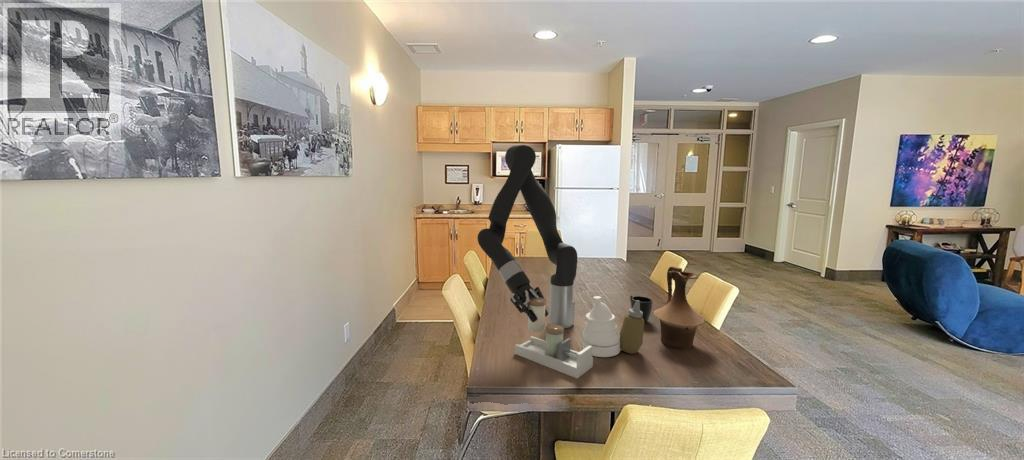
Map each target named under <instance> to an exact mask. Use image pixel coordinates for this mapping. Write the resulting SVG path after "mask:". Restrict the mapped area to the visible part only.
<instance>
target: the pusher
mask: <svg viewBox="0 0 1024 460" xmlns="http://www.w3.org/2000/svg"><path fill="white" fill-rule="evenodd" d="M571 342H572V341H571V338H569V337H568V338H566V339H565V340H563V342H561V343H560V344H558V345H557V354H556V359H559V360H561V361H564V360H565V359H567V358H568V357H569V356H570V357H573V358H575V357H576V355H575V354H572V353H570V349H571Z"/></svg>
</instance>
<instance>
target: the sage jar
mask: <svg viewBox="0 0 1024 460" xmlns="http://www.w3.org/2000/svg"><path fill="white" fill-rule="evenodd" d="M564 331H565V328H564V327H562V326H560V325H556V324H551V325H550V324H547V325H545V341H546V346H545V355H548V356H551V357H553V358H556V354H557V345H558V344H560V343H561V342H563V341H564Z"/></svg>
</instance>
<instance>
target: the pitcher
mask: <svg viewBox="0 0 1024 460" xmlns="http://www.w3.org/2000/svg"><path fill="white" fill-rule="evenodd" d="M697 278H698V277H697V275H696V273H693V272H689V271H683V268H682V267H678V266H674V265H673V266H669V267H668V268H667V272H666V282H667V301H666V303H665V304H664V306H662V307H660V308H657V309H655V310H654V311H653V314H654V316H655V317H656V318H658V319H659V322H660V341H661V343H662V344H663V345H664V346H665V345H666V346H667V347H669V348H671V349H672V348H673V349H675V348H677V350H689V349H691V347H692V348H693V346H694V345H693V344H694V339H695V336H696V332H697V328H698V327H699V326H702V325H704V324H705V323H706V322H705V321H706V320H705V318H704V316H702V315H701V314H700V313H699V312H697V311H696V310H695V309H694V308H693V307H692V306H691V305H690V304H689V302H688V300H687V296H686V288H687V287H686V286H687V282H688V281H689V280H695V279H697ZM672 281H674V292H673V286H672V285H673V283H672ZM688 348H689V349H688Z"/></svg>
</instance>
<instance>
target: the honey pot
mask: <svg viewBox="0 0 1024 460" xmlns="http://www.w3.org/2000/svg"><path fill="white" fill-rule="evenodd" d="M601 300H602V297H601V296H598V295H596V296H593V301H594V303H595V305H594V306H593V308H592V309H591V311H589V312H587V313H586V314H585V319H586V320H587V321H586V322H585V324H584V330H583V331H582V336H581V337H582V339H581V340H582V350H583V349H585V348H586V347H588V346H589V345H590V346H592V357H599V358H610V357H614V356H617V355H619V353H620V352H621V349H620V331H619V329H618V325H617V323H616V321H615V320H616V316H615V315H614V314H613V313H612V311H611V310H610V308H609V307H608V306H607V305H606V303H604V302H602V301H601Z"/></svg>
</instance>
